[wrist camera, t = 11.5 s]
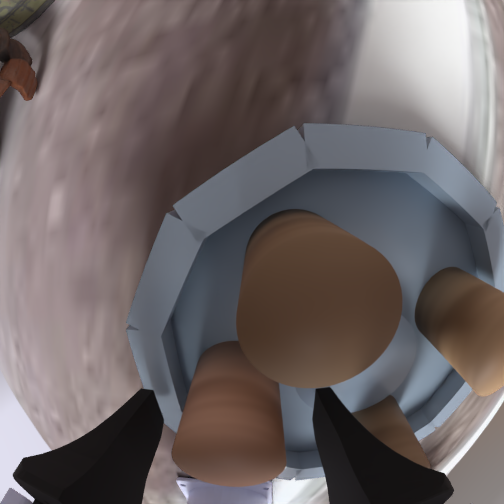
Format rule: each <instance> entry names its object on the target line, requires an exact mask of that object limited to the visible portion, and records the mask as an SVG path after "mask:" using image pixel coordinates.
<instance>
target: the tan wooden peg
mask: <svg viewBox="0 0 504 504" xmlns="http://www.w3.org/2000/svg"><path fill="white" fill-rule="evenodd" d="M402 303H403V299H402V290H401V285H400V282H399V279H398V276H397V274H396V272H395V270H394V268H393V267H392V265H391V264H390V262H389V261H388V260H387V259H386V258H385V257H384V256H383V255H382V254H381V253H380V252H379V251H378V250H376V249H375V248H373V247H372V246H370V245H368V244H367V243H365V242H364V241H362V240H360V239H359V238H357V237H355V236H354V235H352V234H350V233H349V232H347V231H345V230H344V229H342V228H340V227H338V226H337V225H335V224H333V223H332V222H330V221H328V220H326V219H325V218H323V217H321V216H319V215H317V214H316V213H313V212H311V211H307V210H303V209H288V210H283V211H280V212H277V213H274V214H272V215H270V216H269V217H267V218H266V219H264V220H263V221H262V222H261V223H260V224H259V225H258V226H257V227H256V228H255V230H254V231H253V233H252V234H251V236H250V238H249V241H248V244H247V248H246V253H245V259H244V266H243V273H242V279H241V286H240V293H239V299H238V306H237V313H236V330H237V336H238V340H239V343H240V346H241V348H242V351H243V352H244V354H245V356H246V357H247V359H248V360H249V362H250V363H251V364H252V365H253V366H254V367H255V368H256V369H257V370H258V371H259V372H260V373H262V374H263V375H265V376H266V377H268V378H270V379H272V380H274V381H276V382H278V383H281V384H284V385H287V386H291V387H297V388H321V387H327V386H331V385H335V384H338V383H341V382H344V381H346V380H349V379H351V378H353V377H355V376H356V375H358V374H360V373H361V372H363V371H364V370H366V369H367V368H368V367H370V366H371V365H372V364H373V363H374V362H375V361H376V360H377V359H378V358H379V357H380V356H381V355H382V354H383V353H384V351H385V350H386V349H387V347H388V346H389V344H390V343H391V341H392V339H393V338H394V336H395V333H396V331H397V329H398V326H399V322H400V319H401V314H402Z"/></svg>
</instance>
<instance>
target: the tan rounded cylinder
mask: <svg viewBox="0 0 504 504" xmlns="http://www.w3.org/2000/svg"><path fill="white" fill-rule="evenodd" d="M352 415H353V416H354V417H355V418H356V419H357V420H358V421H359V422H360V423H361V424H362V425H363V426H364V427H365V428H366V429H367V430H368V431H369V432H370V433H372V434H373V435H374V436H375V437H376V438H377V439H379V440H380V441H381V442H383V443H384V444H385V445H387V446H388V447H390V448H391V449H392V450H394V451H395V452H397V453H399V454H401V455H402V456H404V457H406V458H408V459H409V460H411V461H413V462H415V463H417V464H420V465H422V466H424V467H427V468H429V469H430V463H429V461H428V459H427V457H426V455H425V453H424V451H423V449H422V447H421V445H420V443H419V441H418V440H417V438H416V436H415V434H414V432H413V430H412V428H411V426H410V425H409V423H408V421H407V419H406V417H405V415H404V414H403V412H402V410H401V408H400V406H399V405H398V403H397V401H396V399H395V398H394V397H393V396H392V395H389V396H387V397H386V398H385V399H383V400H382V401H380V402H378V403H376V404H375V405H373V406H370V407H368V408H366V409H363V410H360V411H356V412H352Z"/></svg>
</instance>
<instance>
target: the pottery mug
mask: <svg viewBox="0 0 504 504" xmlns="http://www.w3.org/2000/svg"><path fill="white" fill-rule="evenodd" d="M0 61H2V62H3V63H4V65H3V66H2V68H1V71H0V97H1V96H2V95H3V94H4V93H5V91H6V90H7V89H8V88H9V86H11V87H13V88H15V89H16V90H18V91H19V92H20V94H21V95H22V96H23V98H24V100H26V101H28V100H31V99H32V98H33V96H34V93H35V90H36V88H37V84H38V83H37V79H36V77H35V71H33V70H32V68H31V65H32V58H31V57H30V55H29V53H28V51H27V50H26V49H25V47H24V46H23V45H22V44H21V43H20V42H18V41H17V40H14V39H10V36H9V33H8V31H7V30H6V29H5V28H1V27H0Z"/></svg>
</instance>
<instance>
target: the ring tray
mask: <svg viewBox="0 0 504 504" xmlns="http://www.w3.org/2000/svg"><path fill="white" fill-rule="evenodd" d="M496 204H497V202H496V201H495V200H494V198H493V197H492V196H491V195H490V194H489V192H488V191H487V190H486V189H485V188H484V187H483V186H482V185H481V183H480V182H479V181H478V180H477V179H476V178H475V177H474V176H473V175H472V174H471V173H470V172H469V171H468V170H467V169H466V168H465V167H464V166H463V165H462V164H461V163H460V162H459V161H458V160H457V159H456V158H455V157H454V156H453V155H452V154H451V153H450V152H449V151H448V150H447V149H446V148H445V147H443V146H442V145H441V144H440V143H439V142H438V141H437V140H436V139H434V138H433V137H427V138H426V133H421V132H414V131H407V130H399V129H391V128H382V127H372V126H359V125H344V124H318V123H303V125H302V126H301V127H300V128H299V129H298V131H297V129H296V128H295V126H293V127H291V128H289V129H288V130H286V131H284V132H283V133H281V134H279V135H278V136H276V137H274V138H273V139H271V140H269V141H268V142H266V143H264V144H263V145H261V146H259V147H258V148H256V149H255V150H253V151H251V152H250V153H248V154H247V155H245V156H244V157H242V158H240V159H239V160H237V161H236V162H234V163H233V164H231V165H230V166H228V167H227V168H225V169H224V170H222V171H221V172H219V173H218V174H216V175H215V176H213V177H212V178H210V179H209V180H207V181H206V182H205V183H203V184H202V185H200V186H199V187H197V188H196V189H195V190H193V191H192V192H190V193H189V194H188V195H186V196H185V197H183V198H182V199H181V200H179V201H178V202H177V203H175V204H174V205H172V206H173V207H174V209H175V210H173V211H171V212H168V213H166V215H165V218H164V220H163V222H162V225H161V227H160V230H159V232H158V235H157V237H156V240H155V242H154V245H153V247H152V250H151V252H150V255H149V258H148V260H147V263H146V266H145V268H144V271H143V274H142V277H141V279H140V282H139V285H138V288H137V291H136V294H135V297H134V300H133V303H132V306H131V309H130V312H129V315H128V318H127V321H126V323H127V324H129V327H128V328H127V329H126V332H127V335H128V339H129V342H130V346H131V349H132V353H133V356H134V359H135V363H136V366H137V369H138V372H139V375H140V378H141V381H142V384H143V387H144V389H150V390H154V393H155V396H156V399H157V401H158V404H159V407H160V410H161V412H162V415H163V418H164V423H165V424H166V425H167V426H168V427H169V428H170V429H172V430H173V431H174V432H175V433H176V434H177V431H178V427H179V424H180V420H181V417H182V413H183V410H184V406H185V403H186V400H187V396H188V393H189V389H190V386H191V383H192V379H193V376H194V373H195V369H196V366H197V363H198V360H199V358H200V356H201V355H202V354H203V353H204V351H206V350H207V349H208V348H210V347H211V346H213V345H215V344H218V343H221V342H226V341H239V340H238V336H237V330H236V313H237V306H238V299H239V293H240V286H241V279H242V273H243V266H244V259H245V253H246V248H247V244H248V241H249V238H250V236H251V234H252V233H253V231H254V230H255V228H256V227H257V226H258V225H259V224H260V223H261V222H262V221H263V220H264V219H266V218H267V217H269V216H270V215H272V214H274V213H277V212H280V211H283V210H288V209H303V210H307V211H311V212H313V213H316V214H317V215H319V216H321V217H323V218H325V219H326V220H328V221H330V222H332V223H333V224H335V225H337V226H338V227H340V228H342V229H344V230H345V231H347V232H349V233H350V234H352V235H354V236H355V237H357V238H359V239H360V240H362V241H364V242H365V243H367V244H368V245H370V246H372V247H373V248H375V249H376V250H378V251H379V252H380V253H381V254H382V255H383V256H384V257H385V258H386V259H387V260H388V261H389V262H390V264H391V265H392V267H393V268H394V270H395V272H396V274H397V276H398V279H399V282H400V285H401V290H402V299H403V303H402V314H401V319H400V322H399V326H398V329H397V331H396V333H395V336H394V338H393V339H392V341H391V343H390V344H389V346H388V347H387V349H386V350H385V351H384V353H383V354H382V355H381V356H380V357H379V358H378V359H377V360H376V361H375V362H374V363H373V364H372V365H371V366H370V367H368V368H367V369H366V370H364V371H363V372H361V373H360V374H358V375H356V376H355V377H353V378H351V379H349V380H346V381H344V382H341V383H338V384H335V385H331V386H327V387H330V388H332V390H333V391H334V392H335V394H336V395H337V396H338V398H339V399H340V400H341V402H342V403H343V404H344V405H345V407H346V408H347V409H348V410H349V411H350V412H351V413H352V412H356V411H360V410H363V409H366V408H368V407H370V406H373V405H375V404H376V403H378V402H380V401H382V400H383V399H385V398H386V397H387V396H389V395H392V396H393V397H394V398H395V399H396V401H397V403H398V405H399V406H400V408H401V410H402V412H403V414H404V415H405V417H406V419H407V421H408V423H409V425H410V426H411V428H412V430H413V432H414V434H415V436H416V438H417V440H418V441H420V440H421V439H423V438H424V437H426V436H427V435H429V434H431V433H432V432H434V431H435V427H440V426H441V425H442V424H443V423H444V422H445V421H446V419H447V418H448V417H449V416H450V415H451V414H452V413H453V412H454V411H455V410H456V408H457V407H458V406H459V405H460V404H461V403H462V401H463V400H464V399H465V398H466V397H467V395H468V394H469V393H470V392H471V391H472V388H471V387H470V386H469V385H468V383H467V382H466V381H465V380H464V379H463V378H462V377H461V375H460V374H459V373H458V372H457V371H456V370H455V369H454V368H453V367H452V365H451V364H450V363H449V362H448V361H447V360H446V359H445V358H444V357H443V356H442V354H441V353H440V352H439V351H438V350H437V349H436V348H435V347H434V346H433V345H432V344H431V343H430V342H429V341H428V340H427V339H426V337H425V336H424V335H423V334H422V333H421V332H420V331H419V330H418V328H417V326H416V323H415V307H416V303H417V300H418V297H419V295H420V293H421V291H422V289H423V287H424V286H425V284H426V283H427V282H428V280H429V279H430V278H431V277H432V276H433V275H435V274H436V273H437V272H439V271H440V270H442V269H444V268H447V267H457V268H460V269H462V270H464V271H466V272H468V273H469V274H471V275H473V276H475V277H477V278H479V279H481V280H482V281H484V282H486V283H488V284H490V285H491V286H493V287H495V288H497V289H499V290H500V291H502V292H504V225H503V220H502V216H501V212H500V208H498V207H496ZM321 388H326V387H321ZM279 389H280V399H281V409H282V419H283V429H284V440H285V450H286V461H287V463H286V467H285V469H284V471H283V472H282V473H281V474H280V475H279V476H277V477H276V478H279V479H286V480H291V479H293V478H294V477H295V480H303V479H311V478H319V477H325V474H324V470H323V466H322V463H321V459H320V456H319V452H318V448H317V445H316V441H315V436H314V429H313V422H312V417H313V408H314V399H315V390H316V389H317V388H297V387H291V386H287V385H284V384H281V383H279Z"/></svg>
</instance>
